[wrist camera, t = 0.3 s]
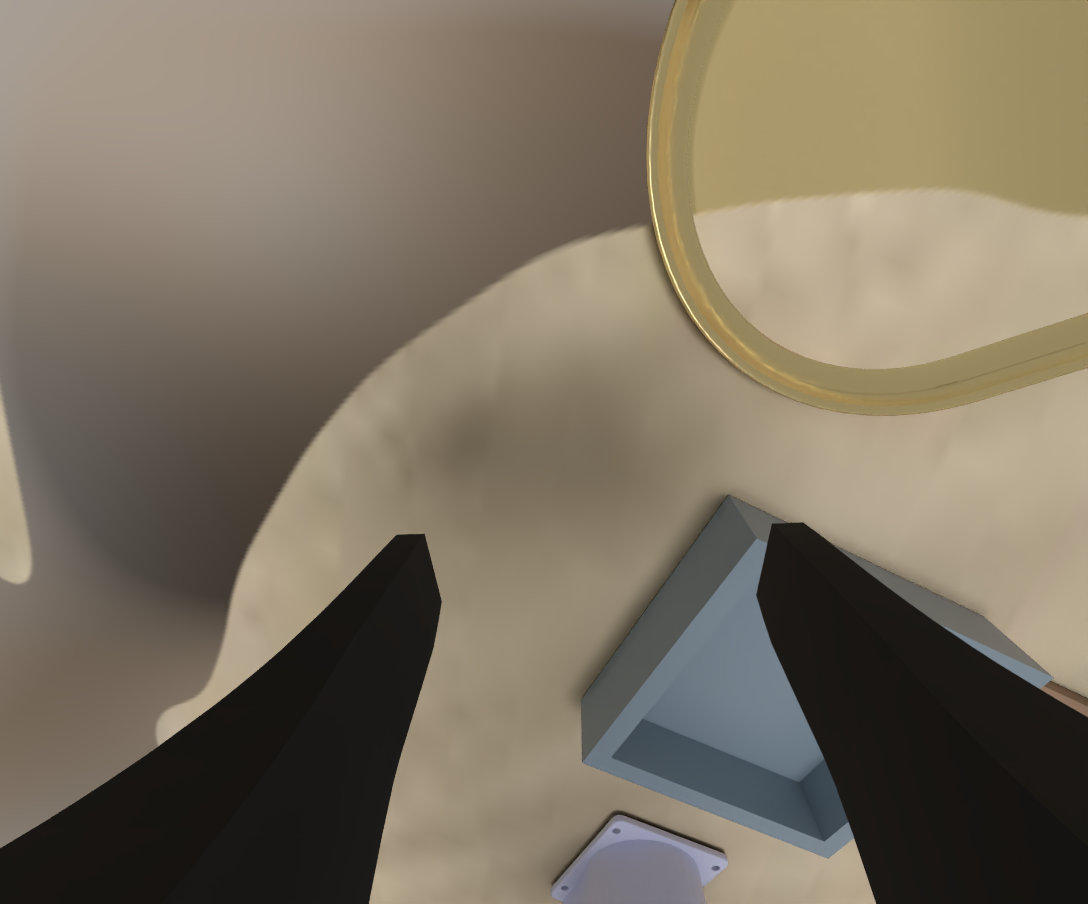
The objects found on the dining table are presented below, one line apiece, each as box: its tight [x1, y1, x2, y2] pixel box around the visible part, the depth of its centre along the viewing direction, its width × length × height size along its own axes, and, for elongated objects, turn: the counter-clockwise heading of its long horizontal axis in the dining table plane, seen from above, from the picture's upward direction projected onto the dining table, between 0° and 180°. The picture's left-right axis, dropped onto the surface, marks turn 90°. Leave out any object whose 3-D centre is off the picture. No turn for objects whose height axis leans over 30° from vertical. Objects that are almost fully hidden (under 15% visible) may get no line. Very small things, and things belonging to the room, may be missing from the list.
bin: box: [581, 495, 1053, 858], centre depth 23 cm, size 14×14×4 cm
